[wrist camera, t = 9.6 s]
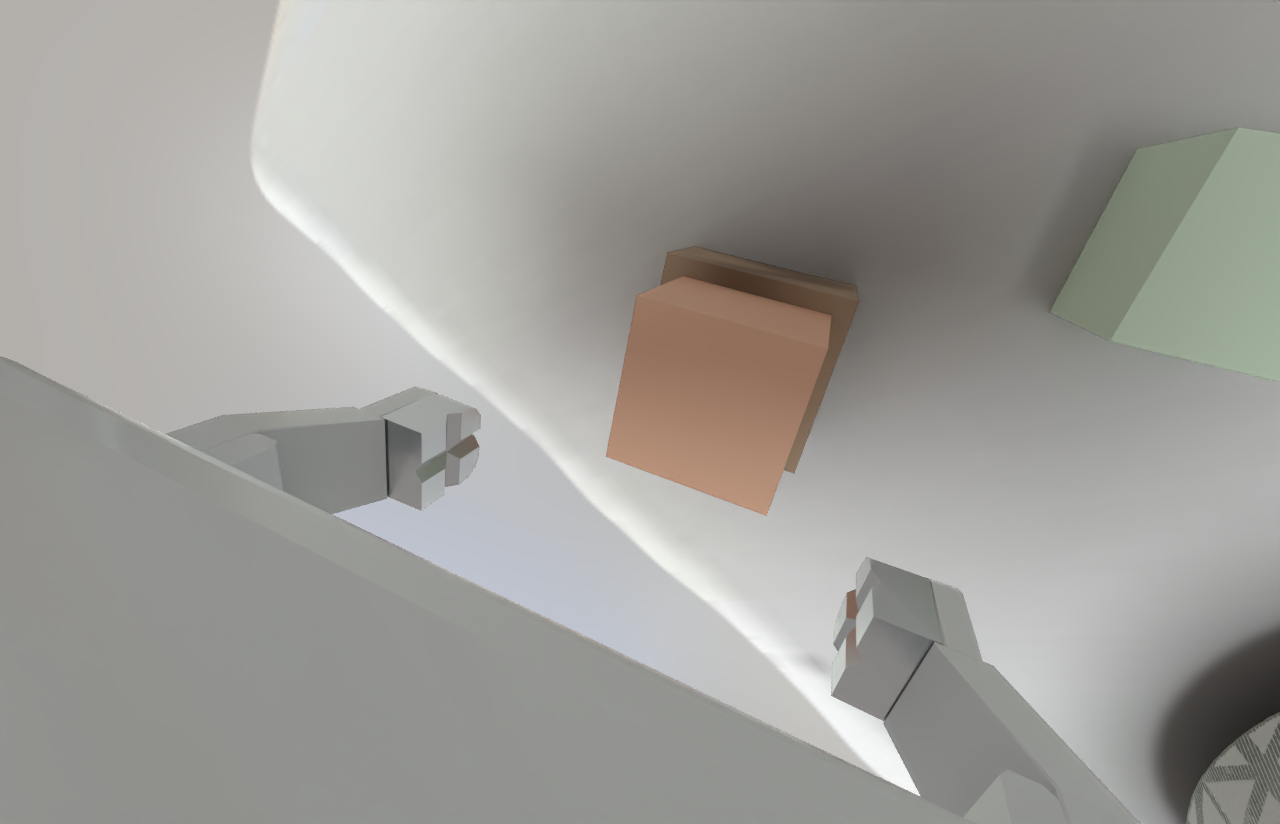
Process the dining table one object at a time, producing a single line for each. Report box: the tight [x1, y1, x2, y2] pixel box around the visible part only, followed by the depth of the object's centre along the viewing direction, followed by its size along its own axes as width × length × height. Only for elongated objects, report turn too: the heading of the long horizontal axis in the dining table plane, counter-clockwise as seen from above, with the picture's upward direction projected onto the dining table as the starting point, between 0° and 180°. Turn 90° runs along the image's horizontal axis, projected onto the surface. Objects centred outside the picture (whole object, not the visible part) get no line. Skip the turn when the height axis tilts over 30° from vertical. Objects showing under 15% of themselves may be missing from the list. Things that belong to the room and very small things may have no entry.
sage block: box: [1050, 127, 1280, 382], centre depth 15 cm, size 6×6×5 cm
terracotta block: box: [606, 276, 832, 516], centre depth 18 cm, size 6×6×5 cm
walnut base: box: [661, 247, 859, 473], centre depth 22 cm, size 7×7×4 cm
